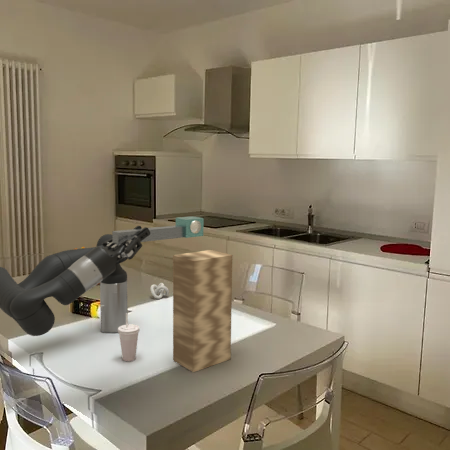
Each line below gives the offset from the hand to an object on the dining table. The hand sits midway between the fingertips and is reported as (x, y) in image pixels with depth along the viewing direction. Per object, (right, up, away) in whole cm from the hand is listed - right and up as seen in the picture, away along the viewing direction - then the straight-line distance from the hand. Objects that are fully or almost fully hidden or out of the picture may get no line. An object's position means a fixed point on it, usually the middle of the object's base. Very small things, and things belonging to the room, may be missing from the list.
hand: (144, 229), depth 124 cm
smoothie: (-8, -39, +18) cm, 44 cm away
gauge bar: (+3, -3, +3) cm, 5 cm away
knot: (-7, -30, +81) cm, 87 cm away
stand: (+14, -39, +18) cm, 46 cm away
